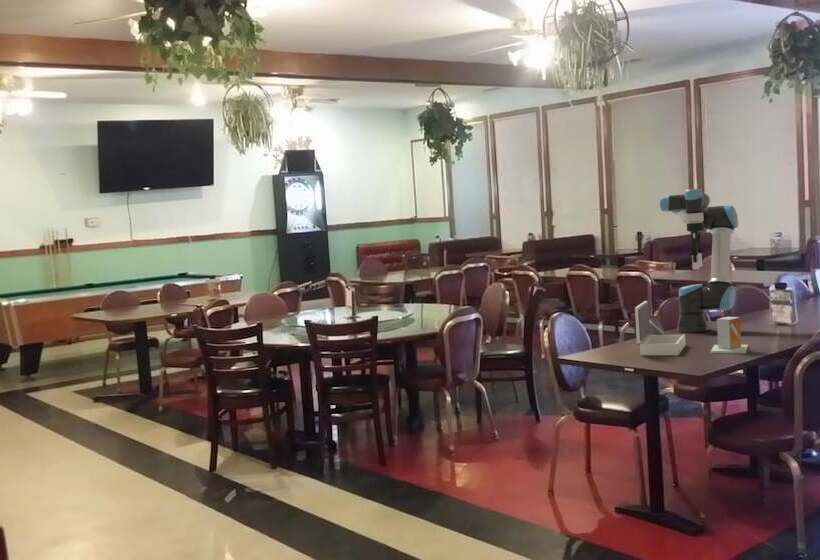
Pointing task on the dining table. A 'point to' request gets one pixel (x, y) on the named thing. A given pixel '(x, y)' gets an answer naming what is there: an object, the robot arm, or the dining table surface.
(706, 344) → the dining table surface
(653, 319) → the coffee pot
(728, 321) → the small box
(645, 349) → the equipment case
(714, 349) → the sage mat
